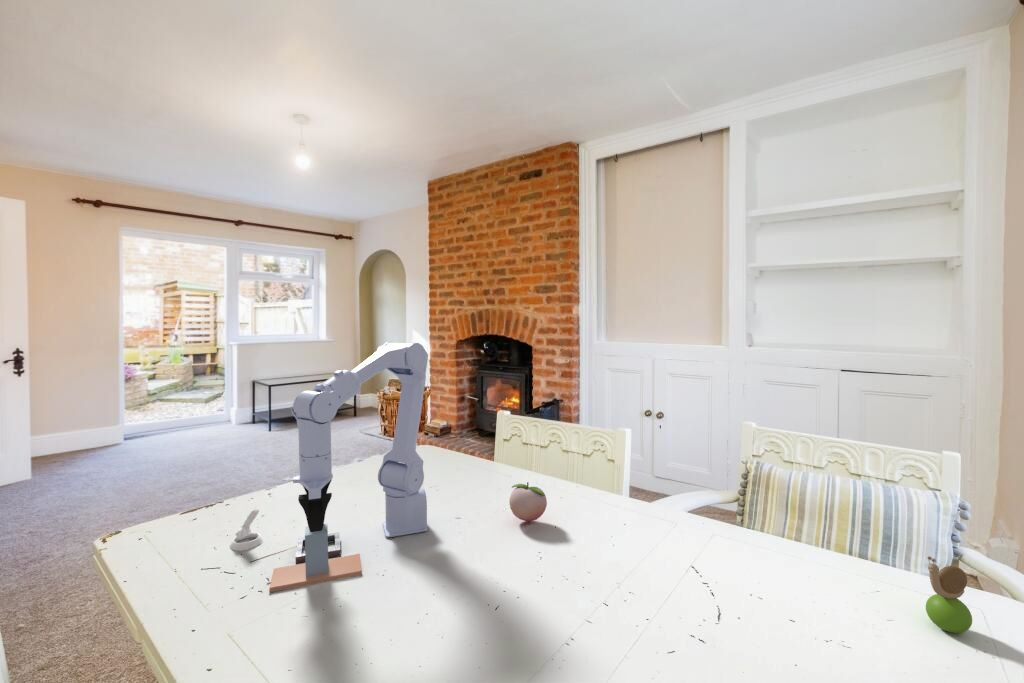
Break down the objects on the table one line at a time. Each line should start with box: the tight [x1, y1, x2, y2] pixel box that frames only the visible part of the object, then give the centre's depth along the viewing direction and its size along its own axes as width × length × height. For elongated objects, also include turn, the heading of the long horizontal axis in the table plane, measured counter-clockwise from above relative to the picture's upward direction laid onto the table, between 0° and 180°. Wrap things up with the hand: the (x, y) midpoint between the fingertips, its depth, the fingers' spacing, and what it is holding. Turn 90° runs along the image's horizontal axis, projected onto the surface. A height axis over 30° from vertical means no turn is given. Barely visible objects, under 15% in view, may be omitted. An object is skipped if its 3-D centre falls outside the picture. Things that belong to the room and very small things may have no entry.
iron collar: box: [295, 532, 341, 565], centre depth 99 cm, size 8×8×2 cm
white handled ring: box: [229, 507, 264, 551], centre depth 102 cm, size 6×10×6 cm
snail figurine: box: [925, 555, 973, 634], centre depth 74 cm, size 5×6×12 cm
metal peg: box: [304, 523, 329, 577], centre depth 90 cm, size 4×4×8 cm
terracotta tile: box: [269, 553, 363, 593], centre depth 91 cm, size 16×7×1 cm, turn 111°
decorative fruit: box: [509, 481, 548, 523], centre depth 113 cm, size 9×8×10 cm
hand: (316, 522), depth 90 cm, fingers open, 7 cm apart
